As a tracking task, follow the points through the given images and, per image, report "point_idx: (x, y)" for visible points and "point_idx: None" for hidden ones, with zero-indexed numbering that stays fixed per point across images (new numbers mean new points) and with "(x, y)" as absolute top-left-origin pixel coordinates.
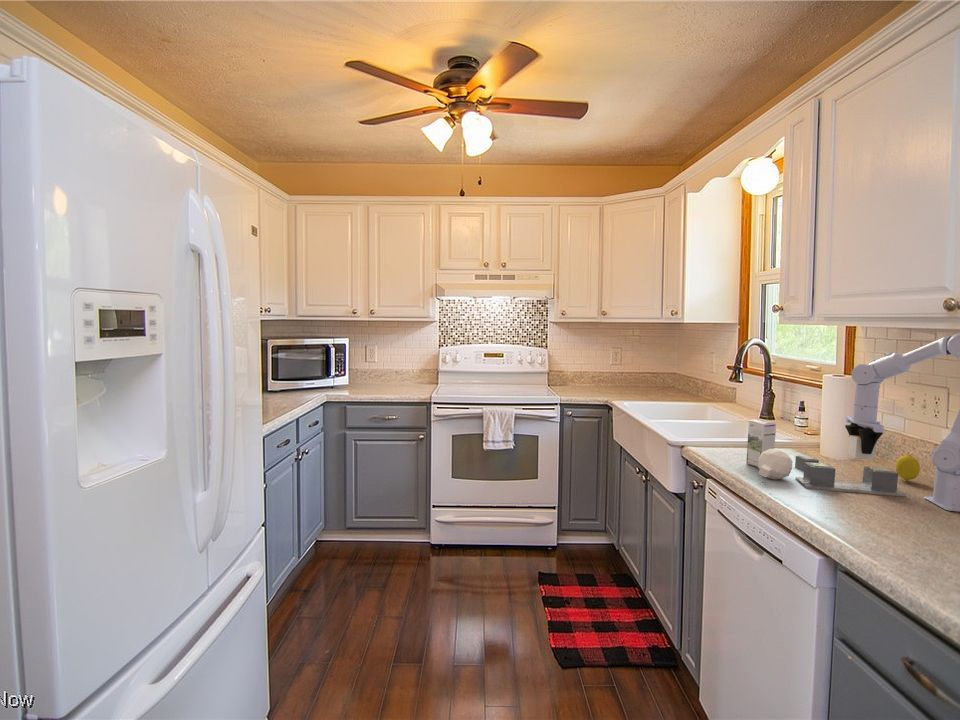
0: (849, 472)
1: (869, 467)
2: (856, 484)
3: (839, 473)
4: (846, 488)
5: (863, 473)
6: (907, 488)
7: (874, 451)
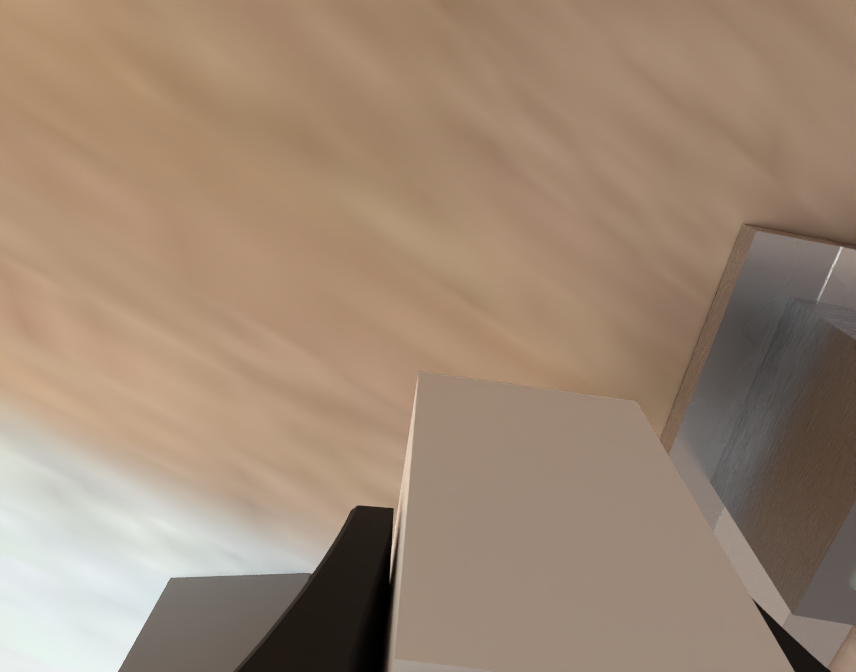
0: (235, 294)
1: (846, 586)
2: (728, 542)
3: (296, 413)
4: None
5: (760, 555)
6: (793, 32)
7: (680, 493)
